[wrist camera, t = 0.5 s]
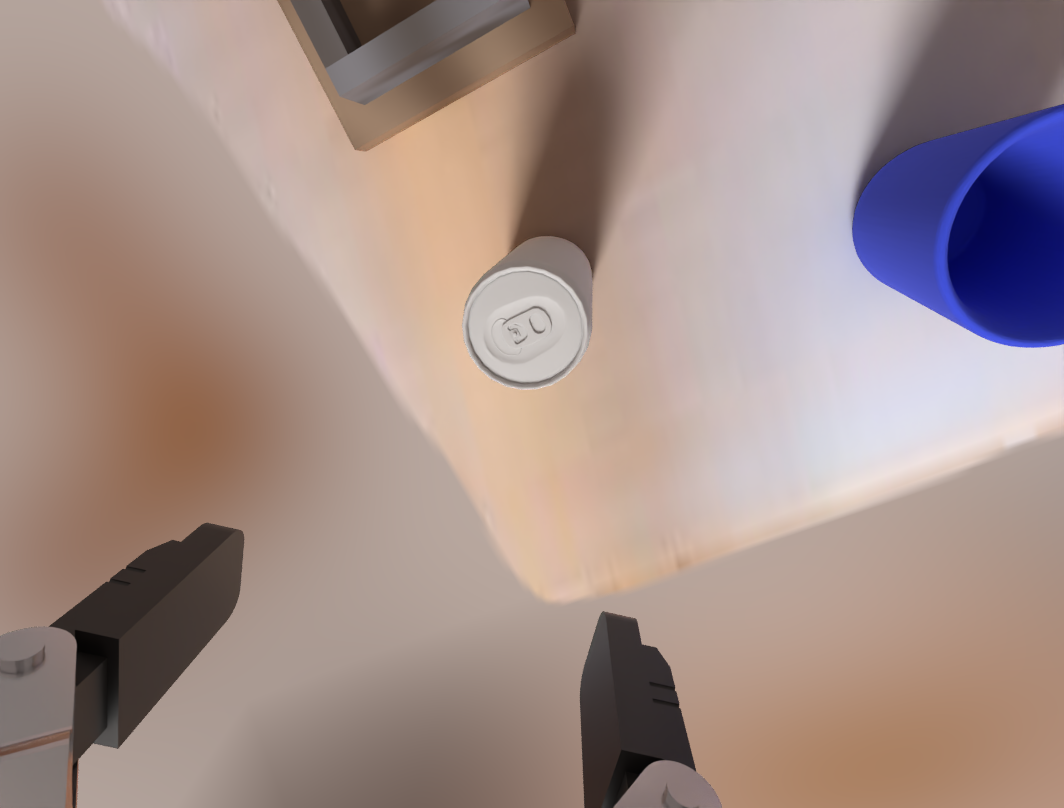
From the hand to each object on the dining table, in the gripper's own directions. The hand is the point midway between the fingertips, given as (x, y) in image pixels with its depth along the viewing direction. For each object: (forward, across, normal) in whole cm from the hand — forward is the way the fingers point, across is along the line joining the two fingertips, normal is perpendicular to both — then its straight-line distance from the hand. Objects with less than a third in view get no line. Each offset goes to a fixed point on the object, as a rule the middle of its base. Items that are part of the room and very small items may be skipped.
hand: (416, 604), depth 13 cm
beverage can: (+22, -1, -6) cm, 23 cm away
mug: (+21, -20, -14) cm, 32 cm away
